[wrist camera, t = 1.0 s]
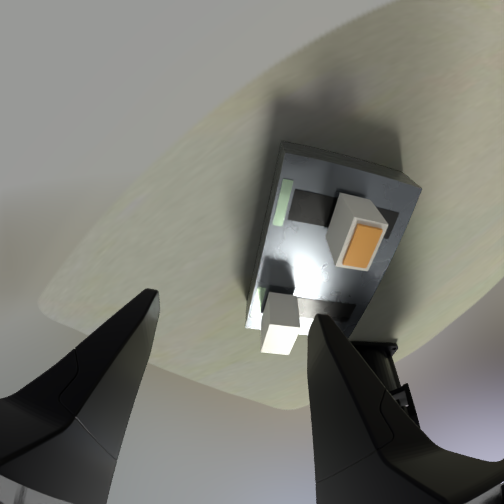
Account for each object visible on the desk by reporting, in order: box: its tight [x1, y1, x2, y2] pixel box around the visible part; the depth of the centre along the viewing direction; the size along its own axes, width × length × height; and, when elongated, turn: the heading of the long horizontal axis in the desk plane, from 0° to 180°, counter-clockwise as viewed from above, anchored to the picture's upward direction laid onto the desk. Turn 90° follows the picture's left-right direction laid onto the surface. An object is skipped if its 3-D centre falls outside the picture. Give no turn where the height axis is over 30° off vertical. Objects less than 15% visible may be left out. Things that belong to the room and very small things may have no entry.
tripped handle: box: [325, 193, 388, 271], centre depth 15 cm, size 2×3×3 cm, turn 171°
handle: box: [261, 292, 301, 355], centre depth 20 cm, size 2×3×3 cm, turn 170°
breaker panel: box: [245, 141, 422, 338], centre depth 21 cm, size 9×14×3 cm, turn 170°
